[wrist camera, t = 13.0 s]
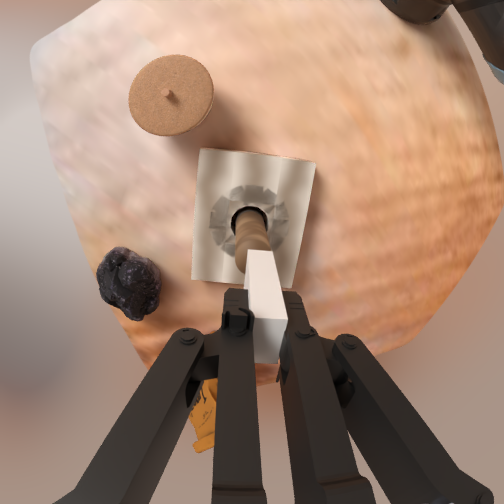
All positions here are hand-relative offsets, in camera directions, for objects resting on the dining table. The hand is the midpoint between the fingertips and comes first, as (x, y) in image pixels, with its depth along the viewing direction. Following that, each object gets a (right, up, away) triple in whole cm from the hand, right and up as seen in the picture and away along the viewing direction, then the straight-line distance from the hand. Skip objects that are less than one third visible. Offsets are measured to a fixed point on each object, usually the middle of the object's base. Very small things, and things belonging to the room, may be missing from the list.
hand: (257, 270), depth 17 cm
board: (-1, +7, +26) cm, 27 cm away
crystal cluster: (-22, -3, +30) cm, 37 cm away
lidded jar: (-11, +23, +18) cm, 31 cm away
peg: (-1, +7, +26) cm, 27 cm away
